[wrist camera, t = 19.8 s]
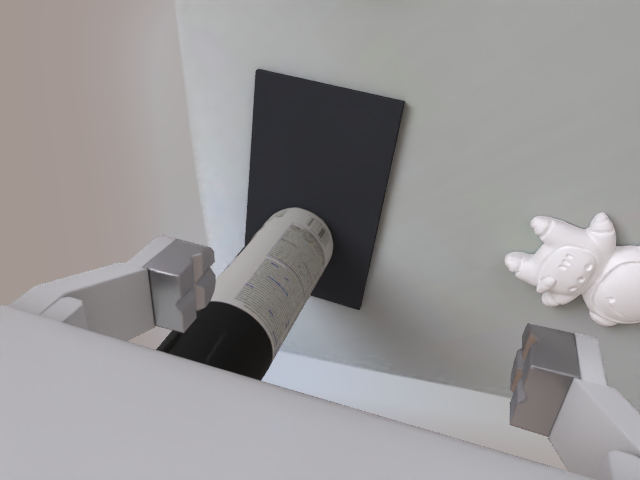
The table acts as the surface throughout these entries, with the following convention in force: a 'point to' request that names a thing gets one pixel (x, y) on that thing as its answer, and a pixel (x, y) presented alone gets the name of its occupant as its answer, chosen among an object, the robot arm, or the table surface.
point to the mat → (323, 168)
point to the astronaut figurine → (583, 268)
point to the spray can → (258, 296)
